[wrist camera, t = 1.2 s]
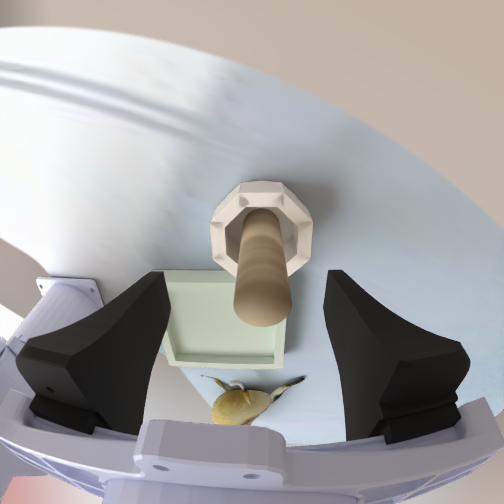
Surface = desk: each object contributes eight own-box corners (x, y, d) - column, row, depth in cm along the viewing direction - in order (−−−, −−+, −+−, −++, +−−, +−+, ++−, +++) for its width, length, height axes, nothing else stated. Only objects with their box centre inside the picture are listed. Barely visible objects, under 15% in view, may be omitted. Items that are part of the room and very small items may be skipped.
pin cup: (302, 261, 23) (308, 282, 20) (219, 261, 23) (215, 283, 20) (307, 180, 20) (315, 192, 17) (214, 180, 20) (207, 193, 17)
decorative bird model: (180, 394, 27) (208, 453, 29) (306, 370, 27) (315, 433, 29) (185, 371, 31) (209, 429, 33) (297, 349, 31) (307, 411, 33)
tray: (281, 355, 28) (282, 368, 26) (173, 352, 28) (169, 365, 27) (286, 270, 23) (288, 282, 22) (152, 269, 24) (145, 281, 22)
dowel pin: (279, 242, 22) (289, 326, 14) (243, 242, 22) (234, 326, 14) (280, 208, 20) (293, 281, 12) (242, 208, 20) (231, 281, 12)
